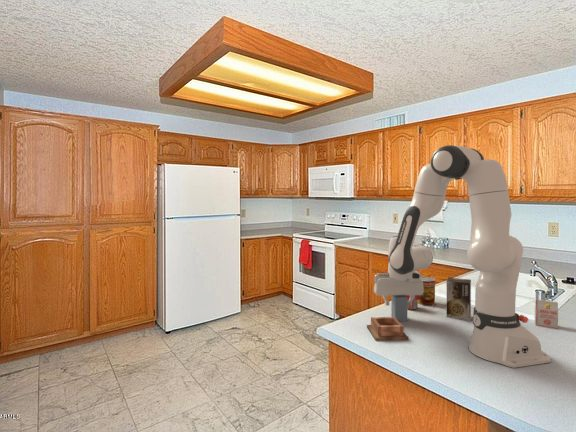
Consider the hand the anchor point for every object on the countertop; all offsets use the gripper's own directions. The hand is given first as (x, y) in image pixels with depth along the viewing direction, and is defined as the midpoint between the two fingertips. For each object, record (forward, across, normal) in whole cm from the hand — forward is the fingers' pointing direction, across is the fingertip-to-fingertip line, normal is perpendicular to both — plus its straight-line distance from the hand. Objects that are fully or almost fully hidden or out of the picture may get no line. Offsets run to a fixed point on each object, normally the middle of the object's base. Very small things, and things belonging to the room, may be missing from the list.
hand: (398, 305), depth 137 cm
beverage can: (+6, +10, +12) cm, 17 cm away
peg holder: (+6, -10, -14) cm, 18 cm away
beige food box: (+5, +55, -11) cm, 57 cm away
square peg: (+6, 0, 0) cm, 6 cm away
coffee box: (+6, +26, 0) cm, 27 cm away
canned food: (+6, +20, +18) cm, 28 cm away
